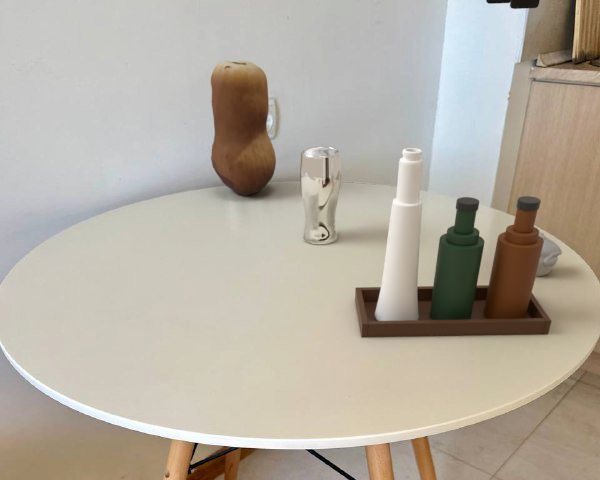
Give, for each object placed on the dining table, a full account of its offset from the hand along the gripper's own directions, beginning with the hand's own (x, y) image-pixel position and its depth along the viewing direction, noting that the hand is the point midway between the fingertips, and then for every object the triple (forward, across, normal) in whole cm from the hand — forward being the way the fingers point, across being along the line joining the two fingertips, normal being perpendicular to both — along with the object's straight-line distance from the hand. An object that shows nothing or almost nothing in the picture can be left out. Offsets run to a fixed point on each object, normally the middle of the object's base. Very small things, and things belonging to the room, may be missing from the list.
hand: (510, 5), depth 72 cm
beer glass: (+36, +17, +23) cm, 46 cm away
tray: (+36, -14, +7) cm, 39 cm away
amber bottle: (+35, -14, -1) cm, 38 cm away
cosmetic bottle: (+35, -14, +14) cm, 40 cm away
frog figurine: (+36, 0, -10) cm, 37 cm away
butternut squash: (+36, +45, +37) cm, 68 cm away
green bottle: (+35, -14, +6) cm, 38 cm away
